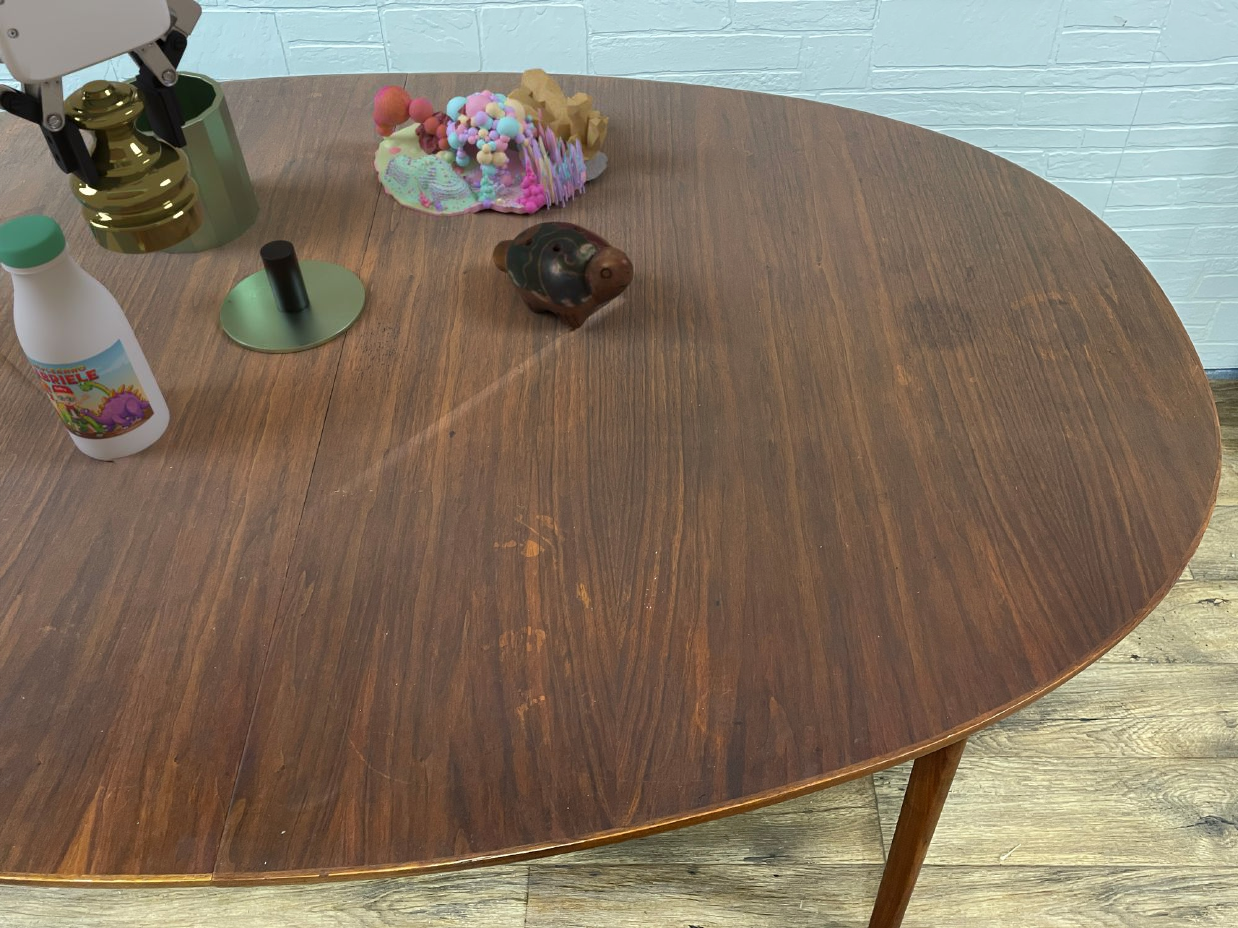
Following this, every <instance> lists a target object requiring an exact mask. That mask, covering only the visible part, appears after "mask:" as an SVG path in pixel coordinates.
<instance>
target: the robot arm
mask: <svg viewBox="0 0 1238 928" xmlns="http://www.w3.org/2000/svg"><path fill="white" fill-rule="evenodd" d="M202 13H203V8H202V6H201V5H200V4H199V2H197V1H196V0H0V65H1V64H3V65H5V67H6V69H7V70H8V72H9V74H10V75H11V77H12V78H13V79H14V80H15V81H17V82H19V83H20V90H19V89H16V88H14V87H12V86H10V85H7V84H4V83H0V110H2V111H5V112H8V113H9V114H11V115H13V116H16V117H19V118H21V119H23V120H25V121H28V122H31V123H33V124H35V125H38V126H39V128H40V130H41V133H42V135H43V137H44V139H45V142H46V144H47V146H48V148H49V150H50V153H51V155H52V157H53V159H54V162H55V163H56V165H57V167H58V168H59V169H60V171H62V172H63V173H64V174H66V175H70V174H71V173H72V174H74V175H75V176H76V177H78V178H79V179H80V180H81V181H83V182H84V183H85V184H87V185H88V186H89V187H91V186H94V185H96V184H98V181H99V180H100V178H99V175H98V173H97V171H96V168H95V166H94V163H93V161H92V159H91V156H90V154H89V152H88V146H87V145H86V142H85V140H84V137H83V136H82V133H81V129H79V128H78V127H77V126H76V125H75V124H74V123H72V122H71V121H68V119H67V117H66V115H65V112H64V100H65V99H64V88H63V78H64V77H65V76H68V75H71V74H75V73H77V72H80V71H83V70H86V69H89V68H91V67H93V66H96V65H99V64H101V63H104V62H106V61H109V60H112V59H115V58H117V57H120V56H123V55H126V54H128V56H129V57H130V59H131V60H132V61H133V63H134V64H135V66H136V67H137V68H138V74H136V75H134V77H136V81H135V84H136V87H138V88H140V89H141V90H142V91H143V93H144V95H145V97H146V100H147V104H146V107H145V111H146V114H147V117H148V119H149V122H150V125H151V128H152V130H153V132H154V133H155V134H156V135H157V136H158V137H160V138H161V139H163V140H164V141H166V142H167V143H169V144H170V145H172V146H173V147H175V148H176V147H177V148H182V147H184V146H186V145H187V142H186V139H185V136H184V133H183V130H182V128H181V126H184V125H185V119H184V116H183V113H182V110H181V107H180V104H179V101H178V98H177V95H176V92H175V89H174V86H173V85H175V83H176V82H177V80H178V73H177V71H178V70H177V69H178V67H179V65H180V63H181V60H182V58H183V56H184V53H185V51H186V49H187V47H188V38H189V36H191V35H192V33H193V31H194V30H195V28H196V25H197V23H198V21H199V20H200V19H201V16H202Z"/></svg>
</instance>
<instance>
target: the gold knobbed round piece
mask: <svg viewBox="0 0 1238 928" xmlns="http://www.w3.org/2000/svg"><path fill="white" fill-rule="evenodd" d="M122 82H123V81H116V80H107V79H94V80H90V81H88V82H86V83H84V84H83V85H82V86H81V87H78V88H77V89H76V90H74V91H73V92H72V93H70V94H69V95H68V96H67V97H66V98H65V99H64V112H65V115H66V117H67V119H68V121H71V122H72V123H74V124H75V125H76V126H77V127H78V128H79V130H80V131H84V132H86V133H87V134H89V135H90V136H91V138H92V142H91V144H90V145H89V147H87V149H88V152H89V154H90V156H91V159H92V161H93V163H94V166H95V168H96V171H97V173H98V175H99V178H100V180H99V181H98V184H96V185H94V186H91V187H89V186H88V185H87V184H85V183H84V182H83V181H81V180H80V179H79V178H78V177H76V176H75V175H74V174H72V173H69V177H68V178H69V179H68V180H69V181H68V183H69V188H70V190H71V193H72V194H73V197H75V199H76V200H77V201H78V203H79V204H80V205H81V215H82V217H83V219H84V220H85V221H86V223H87V225H88V227H89V230H90V232H91V235H92V237H93V240H94V241H95V242H96V244H97V245H99V246H100V247H102V249H105V250H107V251H109V252H112V253H117V254H122V255H147V254H152V253H156V252H162V251H161V250H164V249H167V248H170V247H173V246H175V245H177V244H179V243H181V242H183V241H184V240H186V239H187V238H189V237H190V236H191V235H193V234H194V233H195V232H196V231H197V230H198V229H199V227H200V226H201V224H202V223H203V220H204V217H205V209H204V206H203V203H202V201H201V198H200V195H199V192H198V185H197V183H196V182H195V180H194V179H193V178H191V168H190V162H189V159H188V157H187V155H186V154H185V152H184V151H183V150H182V149H181V148H177V147H176V148H175V147H173V146H172V145H170V144H169V143H167V142H166V141H164V140H162V139H158V138H155V137H153V136H151V135H149V134H145V133H143V132H141V131H139V130H138V129H137V128H136V120H137V118H138V117H139V116H140V115H141V114H142V112H143V111H144V109H145V107H146V104H147V100H146V97H145V95H144V93H143V91H142V90H141V89H140V88H138V87H136V86H134V85H131V84H128V83H122Z"/></svg>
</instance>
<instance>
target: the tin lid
mask: <svg viewBox="0 0 1238 928" xmlns="http://www.w3.org/2000/svg"><path fill="white" fill-rule="evenodd" d="M259 254H260V258H261V261H262V265H263V267H264V268H263V269H260V270H259V271H256V272H254V273H252V274H250V275H249V276H246V277H245V278H244V279H242V280H241V281H240V282H238V283H237V284H236V285H235V286H234V287H232V289H230V290H229V292H228V293H227V294H226V296H225V298H224V299H223V302H222V303H221V306H220V310H219V320H220V324H221V327H222V329H223V331H224V333H225V334H226V336H227V337H228V338H229V339H230V340H231V341H232V342H234V343H235V344H237V345H238V346H240V347H243V348H245V349H248V350H251V351H254V352H259V353H265V354H289V353H290V354H291V353H298V352H303V351H306V350H310V349H315V348H317V347H319V346H322V345H324V344H327V343H329V342H332V341H334V340H335V339H337V338H339V337H340V336H342V335H344V333H346V332H347V331H348V330H350V329H351V328H352V327H353V326H354V325H355V324H356V323H357V321H358V320H359V319H360V318H361V316H362V315H363V312H364V311H365V310H364V309H365V307H366V302H367V295H366V290H365V287H364V284H363V282H362V281H361V279H360V277H358V276H357V275H356V274H355V273H354V272H353V271H351V269H349V268H346V267H345V266H342V265H340V264H338V263H333V262H330V261H323V260H314V259H313V260H309V259H307V260H305V259H304V260H298V255H297V252H296V249H295V246H294V243H292V242H290V241H288V240H286V239H277V240H272V241H269V242H267V243H265V244H264V245H263V246H262V247H261V248H260V251H259Z"/></svg>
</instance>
